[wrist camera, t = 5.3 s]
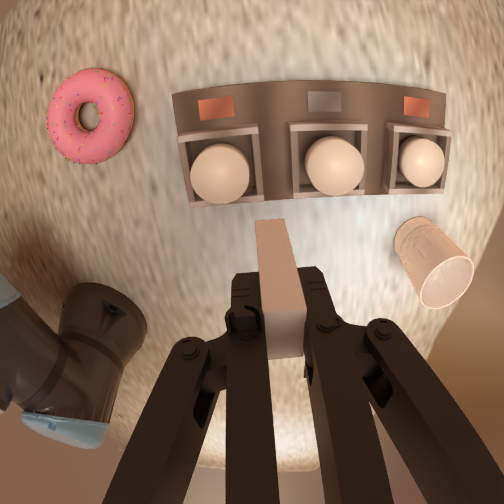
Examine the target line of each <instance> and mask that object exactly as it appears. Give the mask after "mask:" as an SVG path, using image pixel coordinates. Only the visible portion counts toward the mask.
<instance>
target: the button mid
mask: <svg viewBox="0 0 504 504" xmlns="http://www.w3.org/2000/svg"><path fill="white" fill-rule="evenodd" d="M305 169H306V172H307V174H308V176H309V178H310V180H311V182H312V184H313V185H314V186H315V188H316V189H317V190H319V191H320V192H322V193H324V194H326V195H331V196H339V195H344V194H346V193H348V192H350V191H352V190H353V189H354V188H355V187H356V186H357V185H358V184H359V182H360V181H361V179H362V176H363V173H364V162H363V158H362V156H361V154H360V153H359V151H358V150H357V149H356V148H355V147H354V146H352V145H351V144H350V143H349V142H347V141H346V140H344V139H342V138H339V137H335V136H328V137H324V138H321V139H319V140H317V141H316V142H314V143H313V144H312V145H311V146H310V148H309V149H308V151H307V153H306V156H305Z"/></svg>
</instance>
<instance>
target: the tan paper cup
mask: <svg viewBox="0 0 504 504" xmlns="http://www.w3.org/2000/svg"><path fill="white" fill-rule="evenodd" d="M394 249H395V251H396V253H397V255H398V256H399V258H400V260H401V262H402V266H403V268H404V270H405V272H406V274H407V276H408V278H409V279H410V281H411V283H412V285H413V287H414V289H415V291H416V293H417V295H418V297H419V299H420V301H421V303H422V305H423V306H424V307H426V308H429V309H440V308H443V307H446V306H448V305H450V304H451V303H453V302H454V301H456V300H457V299H458V298H459V297H460V296H461V295H462V294H463V293H464V292H465V291H466V290H467V288H468V286H469V285H470V283H471V281H472V278H473V275H474V265H473V262H472V261H471V259H470V258H469V257H468V256H467V255H466V254H465V253H464V252H463V251H462V250H461V249H460V248H459V247H458V246H457V245H456V244H455V243H454V242H453V241H452V240H451V239H450V238H449V237H448V236H447V235H446V234H445V233H444V232H443V231H442V230H440V229H439V228H438V227H437V226H435V225H434V224H433V223H432V222H431V221H430V220H428V219H426V218H424V217H414V218H412V219H410V220H409V221H407V222H405V223H404V224H403V225H402V226H401V227H400V228H399V230H398V231H397V234H396V236H395V238H394Z"/></svg>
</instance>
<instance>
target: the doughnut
mask: <svg viewBox="0 0 504 504" xmlns="http://www.w3.org/2000/svg"><path fill="white" fill-rule="evenodd" d="M57 88H58V89H57V90H56V92H55V93H54V95H53V97H52V99H51V101H50V105H49V109H48V113H47V114H48V117H47V125H48V128H47V129H48V130H49V131H48V132H49V134H50V137H51V140H52V144H54V145H55V147H56V148H57V150H58V151H59V152H60V153H61V154H62V155H63V156H65V157H66V158H68V160H69V161H70V160H71V162H72V161H73V162H74V163H75V162H76V163H79V164H80V163H83V164H93V163H96V164H97V163H99V162H102V161H105V160H107V159H109V158H110V157H112V156H113V155H115V154H116V153H117V152H118V151H120V149H121V147H122V146H123V145H124V143H125V142H126V139H127V138H128V136H129V134H130V131H131V128H132V125H133V120H134V104H133V99H132V96H131V94H130V91H129V89H128V88H127V86H126V85H125V83H124V82H123V81H122V80H121V79H120V78H119V77H117V76H116V75H115V74H114V73H112V72H109V71H106V70H103V69H102V68H101V69H98V68H90V69H84V70H81V71H79V72H77V73H75V74H73V75H72V76H70V77H69V78H66V80H65V81H63V83H62V84H61V85H60V86H59V87H58V86H57ZM86 102H91V103H93V104H94V106H95V107H96V108H97V109H98V111H99V113H97V114H99V124H98V126H97V127H96V128H95V129H94V130H92V131H87V130H85V129H84V128H83V127H82V126H81V124H80V122H79V118H78V113H79V109H80V107H81V105H82V104H83V103H86ZM49 134H48V135H49ZM66 158H65V159H66Z"/></svg>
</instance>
